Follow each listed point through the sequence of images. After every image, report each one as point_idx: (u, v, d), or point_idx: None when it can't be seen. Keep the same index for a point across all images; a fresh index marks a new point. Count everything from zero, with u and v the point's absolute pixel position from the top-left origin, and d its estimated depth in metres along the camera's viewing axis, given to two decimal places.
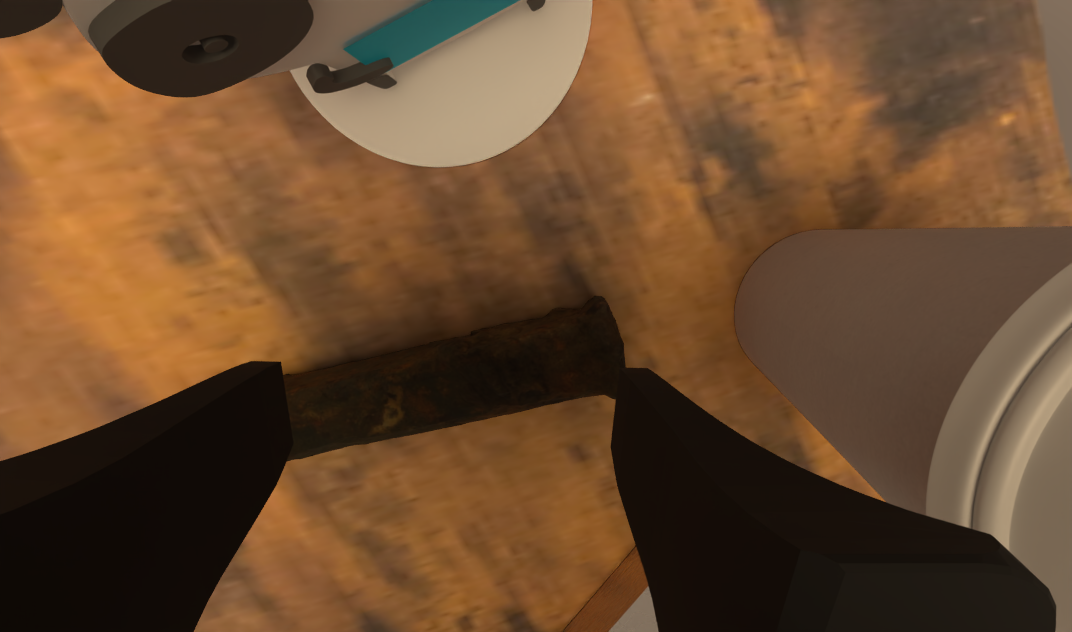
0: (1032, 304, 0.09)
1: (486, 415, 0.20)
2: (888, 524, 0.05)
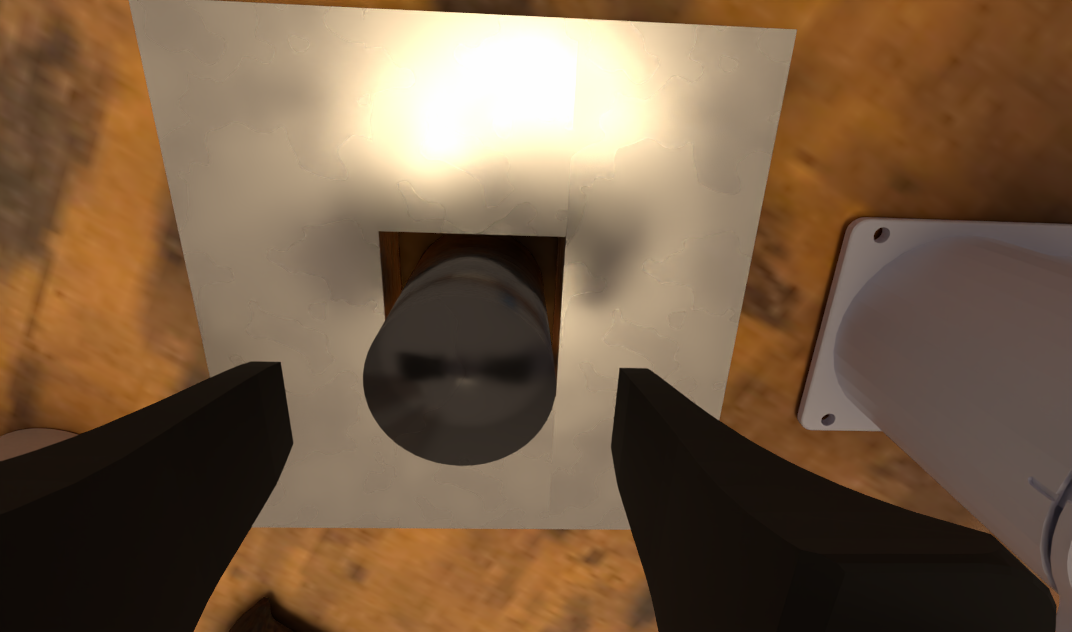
0: None
1: None
2: (888, 525, 0.05)
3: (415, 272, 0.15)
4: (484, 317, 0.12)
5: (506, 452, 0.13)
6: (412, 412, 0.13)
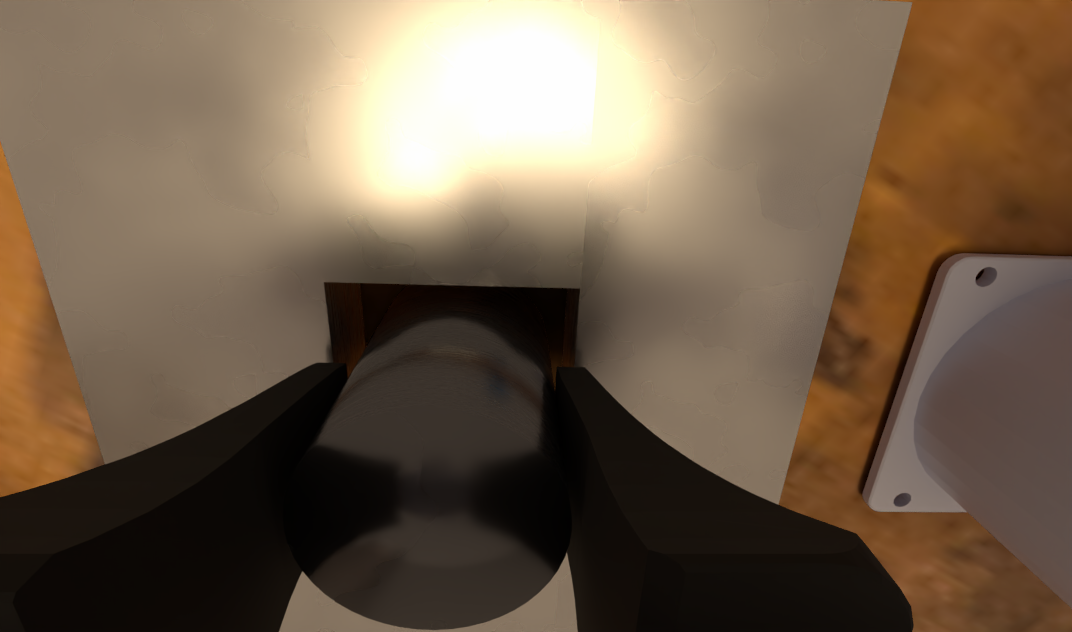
0: None
1: None
2: (758, 525, 0.05)
3: (374, 338, 0.11)
4: (463, 436, 0.08)
5: (499, 612, 0.09)
6: (359, 563, 0.09)
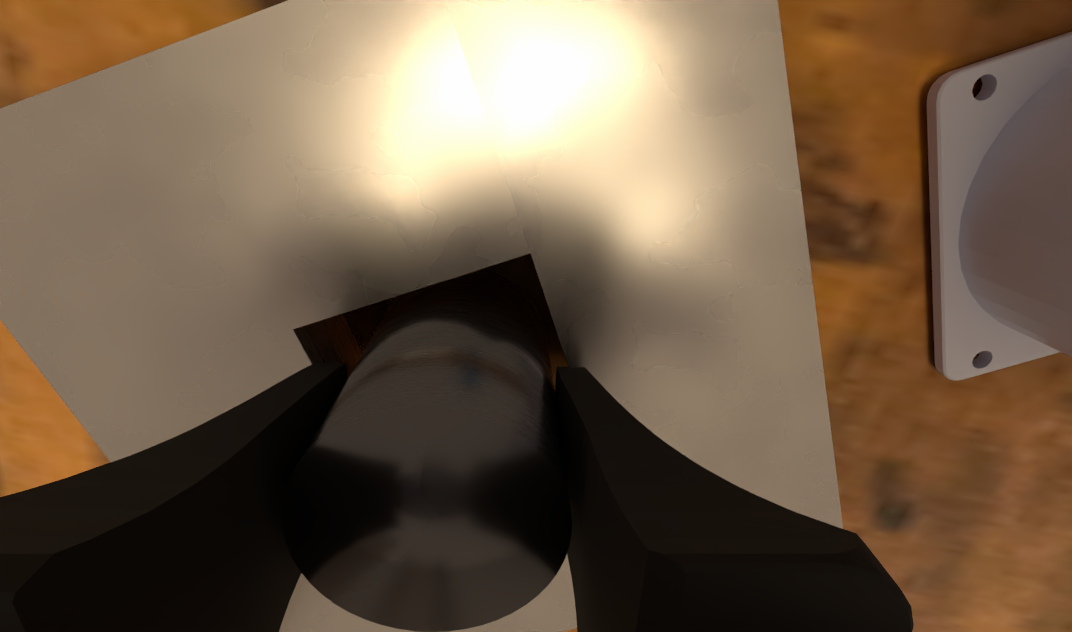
0: None
1: None
2: (757, 525, 0.05)
3: (375, 337, 0.11)
4: (464, 437, 0.08)
5: (497, 614, 0.09)
6: (358, 564, 0.08)
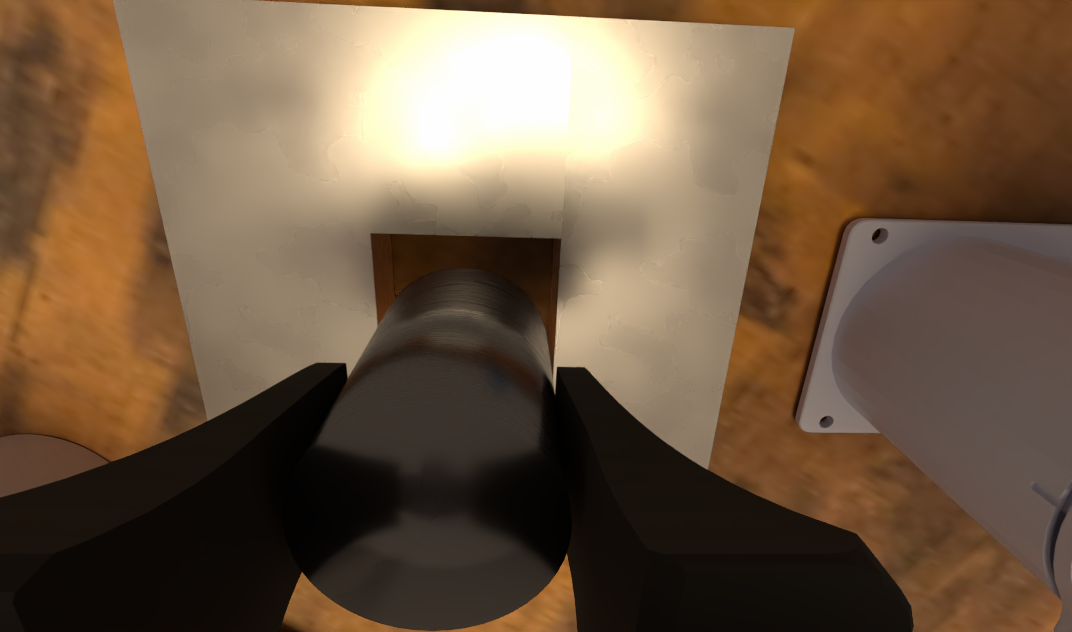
0: None
1: None
2: (757, 525, 0.05)
3: (375, 337, 0.11)
4: (465, 436, 0.08)
5: (497, 613, 0.09)
6: (358, 563, 0.09)
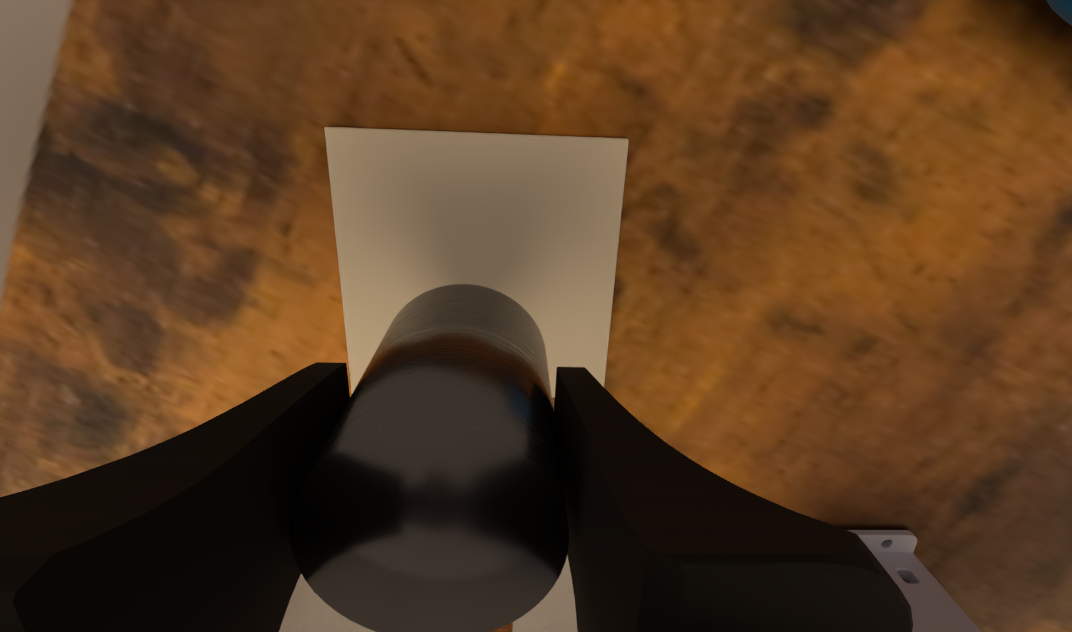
0: None
1: None
2: (757, 524, 0.05)
3: (381, 351, 0.11)
4: (469, 453, 0.08)
5: (493, 625, 0.09)
6: (361, 574, 0.09)
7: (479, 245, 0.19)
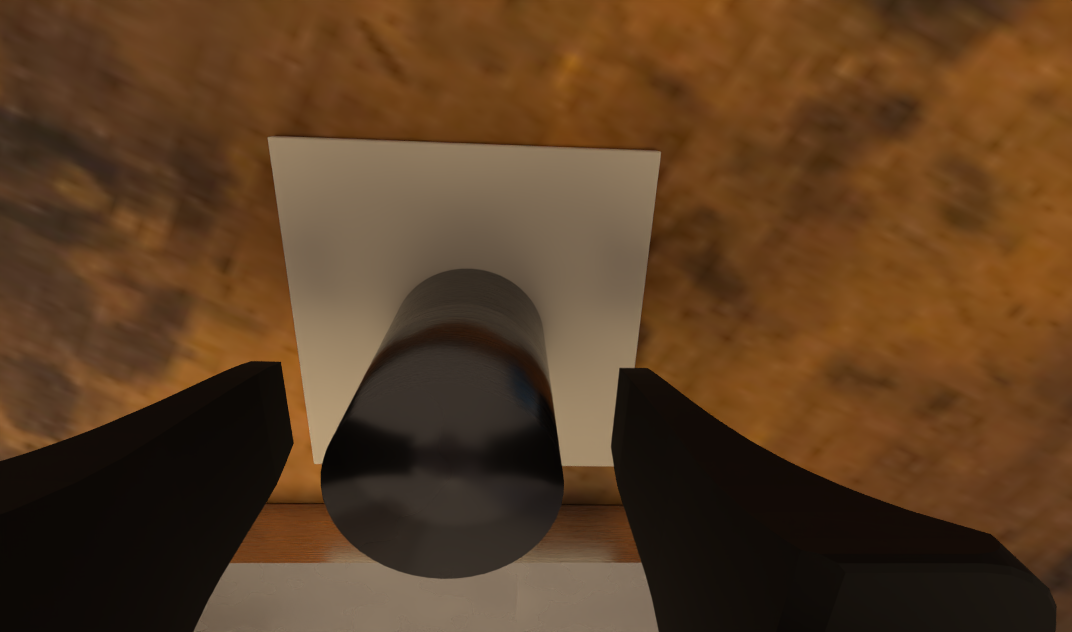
0: None
1: None
2: (888, 525, 0.05)
3: (394, 328, 0.13)
4: (477, 409, 0.09)
5: (498, 564, 0.11)
6: (382, 517, 0.10)
7: None
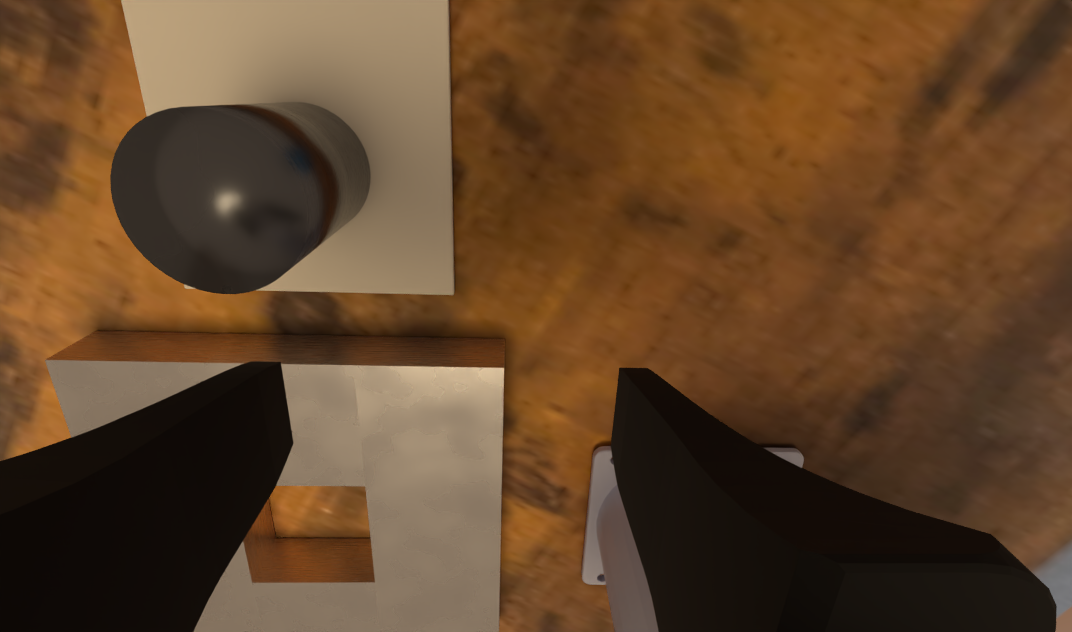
0: None
1: None
2: (888, 525, 0.05)
3: None
4: (223, 130, 0.12)
5: (267, 280, 0.14)
6: (166, 232, 0.13)
7: None
